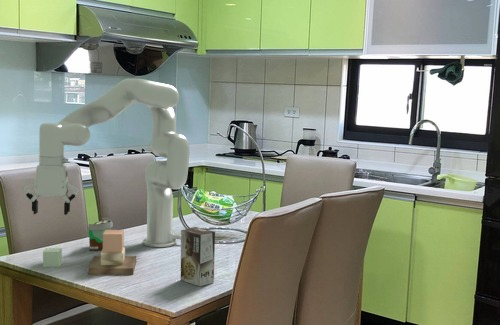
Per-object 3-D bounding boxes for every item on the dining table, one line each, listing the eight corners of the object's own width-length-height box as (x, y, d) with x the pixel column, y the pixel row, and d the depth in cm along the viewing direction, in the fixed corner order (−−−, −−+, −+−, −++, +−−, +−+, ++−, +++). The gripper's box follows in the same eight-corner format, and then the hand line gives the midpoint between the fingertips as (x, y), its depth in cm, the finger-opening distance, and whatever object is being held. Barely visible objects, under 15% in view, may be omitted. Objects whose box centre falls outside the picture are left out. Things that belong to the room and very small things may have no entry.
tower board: (136, 261, 206) (136, 255, 206) (133, 274, 192) (133, 268, 192) (94, 261, 204) (94, 255, 204) (87, 274, 190) (87, 268, 190)
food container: (104, 253, 214) (104, 225, 213) (87, 251, 216) (87, 224, 214) (118, 244, 226) (118, 218, 225) (103, 243, 228) (103, 217, 226)
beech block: (124, 258, 202) (125, 247, 201) (123, 265, 195) (123, 252, 194) (103, 258, 201) (103, 247, 200) (100, 265, 194) (100, 252, 194)
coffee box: (214, 282, 187) (216, 231, 185) (199, 287, 182) (200, 234, 180) (194, 275, 193) (195, 226, 191) (179, 280, 188) (180, 229, 186)
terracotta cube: (123, 247, 201) (123, 229, 200) (121, 252, 195) (122, 234, 194) (105, 247, 200) (105, 229, 199) (102, 252, 194) (102, 234, 193)
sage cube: (61, 262, 202) (61, 247, 202) (58, 266, 198) (58, 251, 197) (46, 262, 202) (46, 247, 201) (43, 266, 197) (42, 251, 196)
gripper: (80, 161, 200) (80, 212, 202) (26, 159, 198) (26, 210, 200) (77, 163, 193) (76, 216, 195) (20, 162, 191) (20, 215, 193)
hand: (50, 213), depth 197 cm, fingers open, 9 cm apart
